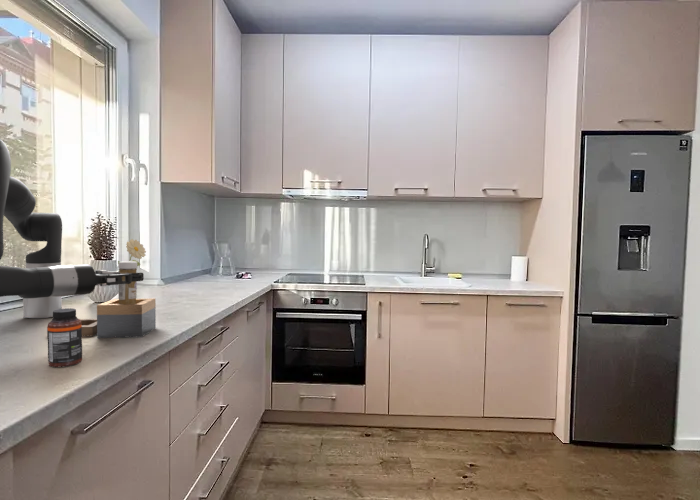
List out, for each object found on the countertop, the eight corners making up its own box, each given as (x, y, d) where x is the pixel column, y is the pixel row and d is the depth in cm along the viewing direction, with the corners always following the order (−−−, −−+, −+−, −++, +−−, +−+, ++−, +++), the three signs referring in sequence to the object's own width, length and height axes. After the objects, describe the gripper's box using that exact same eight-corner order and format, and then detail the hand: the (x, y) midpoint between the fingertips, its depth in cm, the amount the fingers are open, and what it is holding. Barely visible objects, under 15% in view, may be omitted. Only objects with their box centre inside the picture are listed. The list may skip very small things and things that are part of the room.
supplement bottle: (58, 359, 92) (58, 307, 91) (88, 359, 92) (87, 307, 92) (41, 368, 86) (40, 312, 85) (72, 368, 86) (71, 312, 86)
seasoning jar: (137, 311, 116) (138, 261, 115) (118, 312, 113) (119, 262, 113) (135, 308, 120) (136, 260, 119) (116, 309, 117) (117, 260, 117)
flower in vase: (114, 313, 143) (113, 239, 142) (100, 309, 150) (99, 238, 149) (152, 308, 153) (152, 239, 152) (137, 305, 160) (137, 238, 160)
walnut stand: (47, 336, 111) (47, 327, 111) (69, 327, 122) (69, 319, 122) (92, 336, 112) (92, 326, 112) (110, 327, 123) (110, 318, 123)
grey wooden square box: (97, 337, 111) (96, 305, 110) (114, 328, 122) (114, 298, 121) (142, 337, 112) (141, 304, 112) (155, 327, 123) (155, 298, 123)
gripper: (82, 266, 100) (148, 263, 114) (56, 263, 108) (121, 260, 122) (83, 298, 101) (148, 291, 114) (56, 293, 109) (121, 287, 122)
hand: (134, 275), depth 118 cm, fingers open, 8 cm apart
